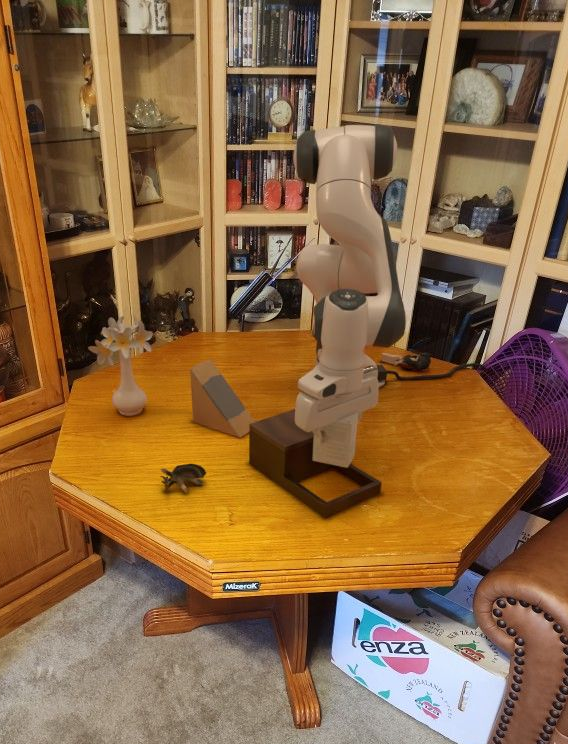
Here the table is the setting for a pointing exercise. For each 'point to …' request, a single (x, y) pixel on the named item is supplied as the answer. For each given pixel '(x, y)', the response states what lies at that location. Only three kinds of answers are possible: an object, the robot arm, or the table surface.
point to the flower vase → (124, 362)
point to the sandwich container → (217, 401)
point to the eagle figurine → (183, 475)
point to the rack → (301, 463)
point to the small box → (337, 442)
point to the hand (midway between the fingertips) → (335, 436)
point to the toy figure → (409, 360)
